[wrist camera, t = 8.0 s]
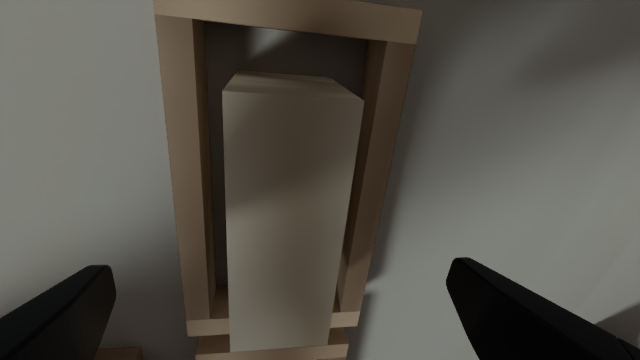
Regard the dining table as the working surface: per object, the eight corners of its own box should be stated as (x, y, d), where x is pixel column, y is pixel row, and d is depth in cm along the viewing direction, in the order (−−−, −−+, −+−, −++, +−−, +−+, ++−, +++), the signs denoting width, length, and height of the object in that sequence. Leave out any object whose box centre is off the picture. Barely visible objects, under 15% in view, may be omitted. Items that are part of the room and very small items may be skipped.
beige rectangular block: (240, 260, 15) (230, 352, 11) (238, 69, 12) (222, 91, 7) (310, 258, 16) (327, 345, 12) (329, 77, 12) (364, 101, 8)
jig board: (204, 407, 19) (198, 444, 18) (170, -17, 10) (150, -28, 8) (329, 394, 21) (335, 428, 19) (398, 13, 12) (423, 10, 10)
